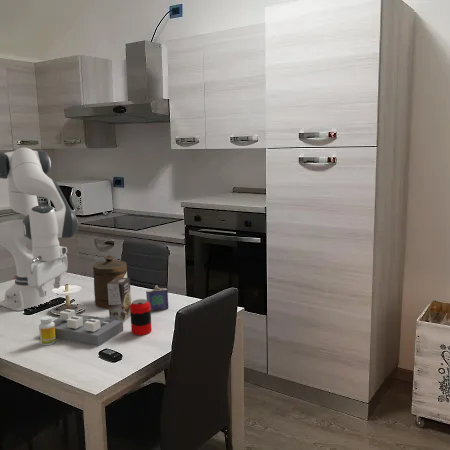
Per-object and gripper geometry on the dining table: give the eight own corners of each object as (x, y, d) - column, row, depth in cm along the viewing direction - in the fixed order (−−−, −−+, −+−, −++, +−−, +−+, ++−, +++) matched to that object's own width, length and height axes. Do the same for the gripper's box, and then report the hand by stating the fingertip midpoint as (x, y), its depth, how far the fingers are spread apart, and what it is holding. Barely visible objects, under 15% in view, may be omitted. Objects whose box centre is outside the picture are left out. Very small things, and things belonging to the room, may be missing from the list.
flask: (147, 311, 208) (146, 287, 206) (146, 309, 210) (145, 285, 209) (168, 309, 210) (167, 285, 208) (168, 307, 213) (167, 283, 211)
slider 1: (60, 319, 189) (59, 311, 188) (67, 316, 192) (66, 308, 192) (68, 321, 187) (67, 312, 186) (75, 317, 190) (74, 309, 190)
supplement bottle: (38, 342, 179) (35, 318, 177) (52, 338, 182) (49, 314, 181) (44, 347, 175) (42, 321, 173) (58, 342, 179) (56, 317, 177)
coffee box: (124, 322, 196) (121, 284, 193) (109, 321, 197) (106, 283, 195) (132, 314, 205) (130, 277, 202) (118, 313, 206) (116, 277, 203)
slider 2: (67, 327, 181) (66, 318, 180) (74, 323, 184) (74, 315, 184) (76, 328, 179) (75, 320, 179) (83, 324, 183) (82, 316, 182)
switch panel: (31, 333, 187) (30, 323, 186) (59, 320, 201) (58, 310, 200) (98, 346, 174) (97, 335, 173) (123, 330, 188) (122, 320, 187)
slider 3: (84, 330, 178) (84, 321, 177) (91, 326, 181) (91, 317, 181) (93, 331, 176) (92, 323, 175) (100, 327, 180) (100, 319, 179)
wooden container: (132, 305, 217) (130, 257, 213) (99, 311, 210) (95, 261, 206) (123, 295, 230) (121, 250, 226) (92, 301, 223) (88, 254, 219)
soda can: (131, 336, 182) (129, 305, 180) (131, 328, 190) (129, 299, 187) (152, 334, 184) (150, 304, 182) (151, 326, 191) (149, 297, 189)
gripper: (38, 261, 156) (42, 302, 158) (69, 246, 176) (72, 283, 178) (20, 260, 157) (24, 301, 159) (53, 246, 177) (56, 283, 179)
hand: (50, 292), depth 169 cm, fingers open, 8 cm apart
